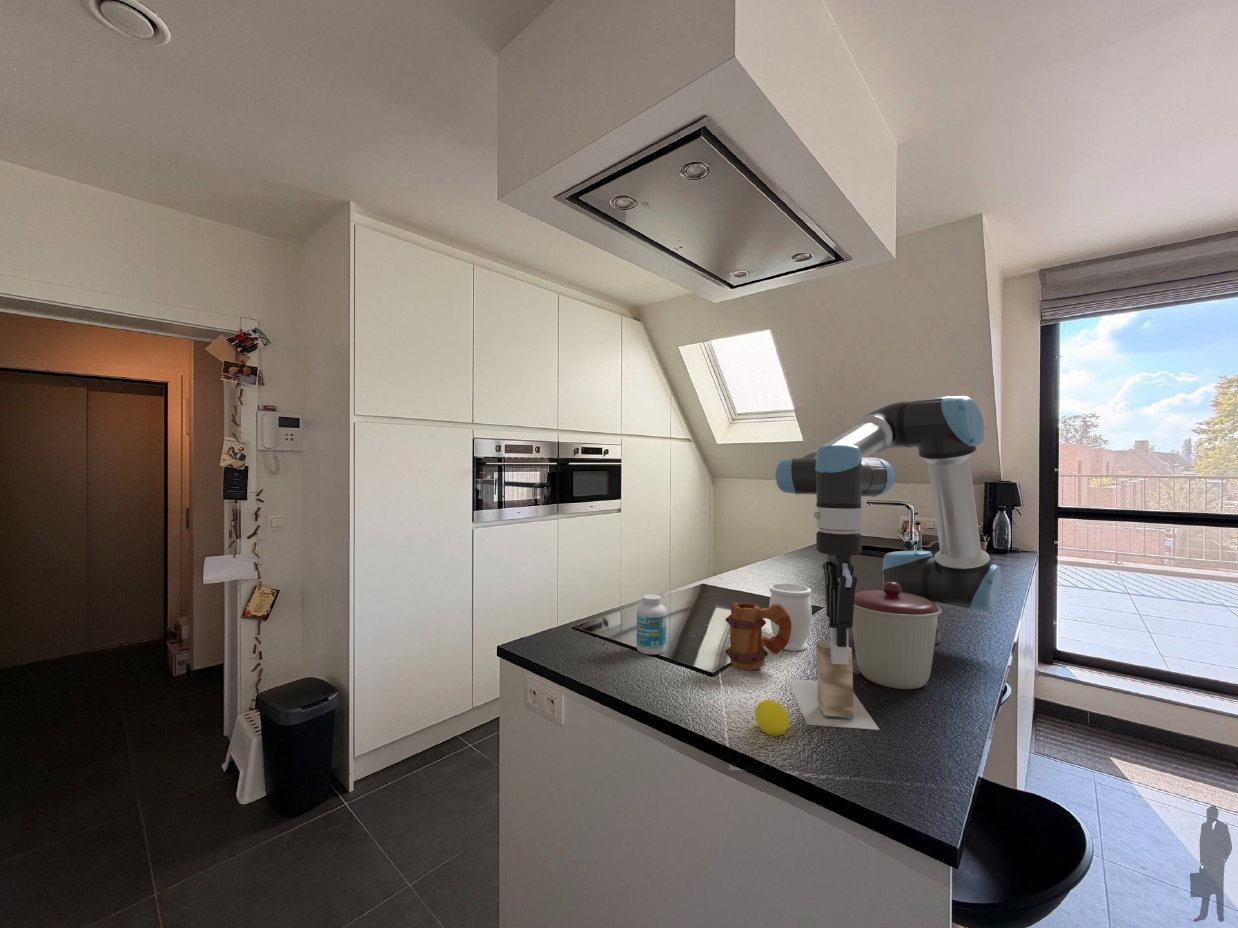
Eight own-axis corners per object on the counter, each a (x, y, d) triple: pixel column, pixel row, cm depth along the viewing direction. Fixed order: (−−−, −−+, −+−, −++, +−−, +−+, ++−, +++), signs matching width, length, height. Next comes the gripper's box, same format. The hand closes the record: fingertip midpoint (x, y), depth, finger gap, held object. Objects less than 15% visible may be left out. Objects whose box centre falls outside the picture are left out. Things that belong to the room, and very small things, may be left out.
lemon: (796, 741, 86) (799, 711, 86) (769, 747, 84) (772, 716, 84) (770, 717, 93) (772, 689, 92) (745, 722, 91) (747, 693, 90)
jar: (818, 653, 127) (817, 592, 127) (775, 653, 127) (775, 592, 127) (803, 639, 137) (803, 583, 137) (764, 639, 137) (764, 582, 138)
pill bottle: (632, 653, 126) (632, 598, 127) (642, 644, 133) (642, 591, 133) (661, 657, 124) (661, 601, 124) (670, 647, 130) (670, 594, 131)
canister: (931, 707, 98) (930, 596, 98) (834, 680, 110) (833, 582, 110) (950, 679, 111) (949, 581, 111) (862, 658, 123) (861, 570, 124)
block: (845, 708, 96) (844, 642, 98) (853, 718, 91) (851, 649, 93) (818, 706, 97) (816, 641, 98) (824, 716, 92) (822, 647, 93)
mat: (846, 684, 108) (846, 682, 108) (879, 731, 88) (879, 729, 88) (787, 680, 110) (787, 678, 110) (807, 726, 90) (807, 724, 90)
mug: (722, 670, 115) (722, 603, 116) (727, 658, 123) (727, 595, 123) (791, 680, 110) (791, 609, 111) (792, 666, 118) (792, 601, 118)
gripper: (808, 526, 99) (809, 649, 99) (825, 535, 86) (826, 675, 86) (849, 527, 98) (850, 651, 98) (873, 535, 85) (874, 678, 85)
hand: (839, 662), depth 92 cm, fingers closed
